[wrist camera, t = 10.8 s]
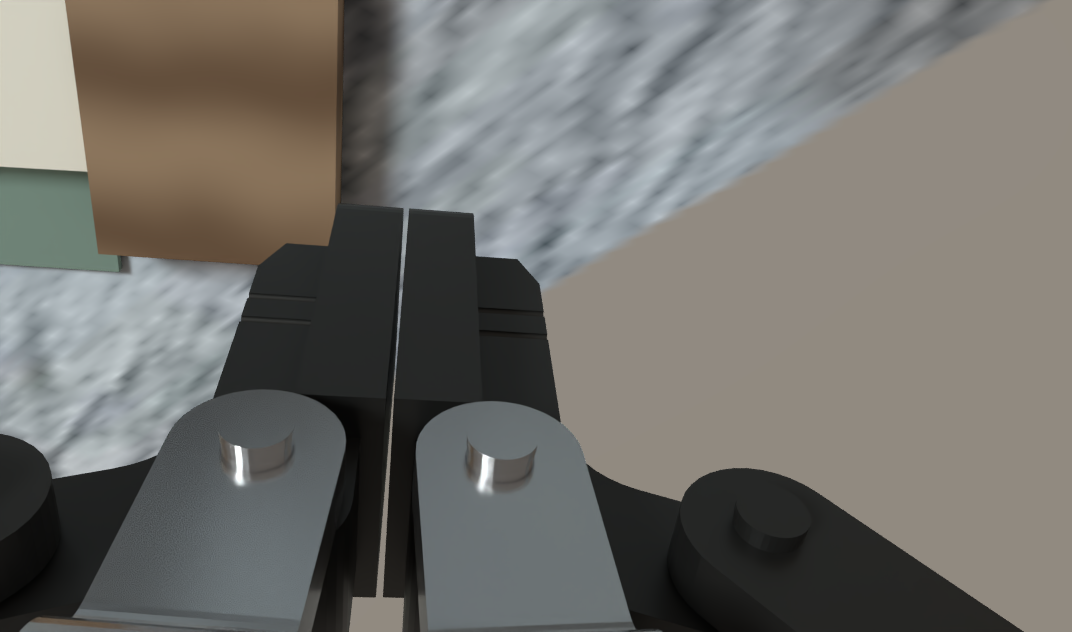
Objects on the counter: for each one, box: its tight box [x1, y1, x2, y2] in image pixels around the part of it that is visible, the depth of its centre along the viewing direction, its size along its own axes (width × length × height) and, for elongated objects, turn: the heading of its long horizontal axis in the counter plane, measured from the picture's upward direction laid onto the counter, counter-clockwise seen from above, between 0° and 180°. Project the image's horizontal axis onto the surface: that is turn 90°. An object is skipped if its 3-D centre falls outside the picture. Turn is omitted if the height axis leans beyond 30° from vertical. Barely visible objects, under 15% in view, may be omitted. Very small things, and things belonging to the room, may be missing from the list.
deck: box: [65, 0, 344, 265], centre depth 35 cm, size 16×9×2 cm, turn 173°
